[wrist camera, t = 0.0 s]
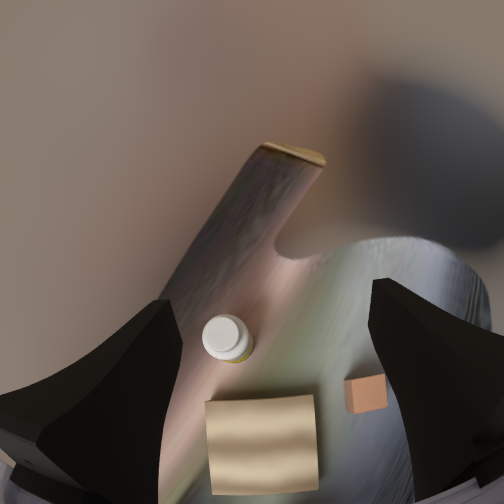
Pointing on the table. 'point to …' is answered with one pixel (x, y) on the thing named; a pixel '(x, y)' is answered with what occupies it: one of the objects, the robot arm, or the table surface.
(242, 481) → the maple base
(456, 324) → the robot arm
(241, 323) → the supplement bottle
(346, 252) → the table surface
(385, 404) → the terracotta block
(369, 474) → the table surface
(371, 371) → the table surface
